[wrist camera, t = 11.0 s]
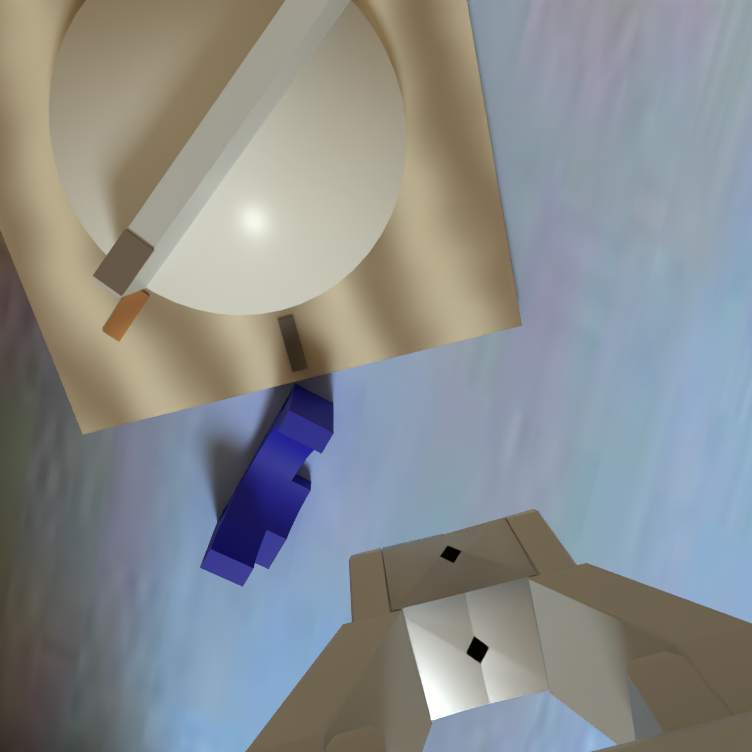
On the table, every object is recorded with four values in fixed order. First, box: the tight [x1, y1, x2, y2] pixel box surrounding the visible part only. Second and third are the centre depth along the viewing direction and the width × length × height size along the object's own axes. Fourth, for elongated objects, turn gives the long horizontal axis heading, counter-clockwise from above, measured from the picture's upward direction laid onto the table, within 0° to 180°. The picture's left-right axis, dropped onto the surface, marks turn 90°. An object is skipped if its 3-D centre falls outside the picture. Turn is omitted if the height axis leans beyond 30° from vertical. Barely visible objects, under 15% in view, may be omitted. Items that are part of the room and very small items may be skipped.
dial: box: [48, 0, 407, 315], centre depth 32 cm, size 20×20×6 cm
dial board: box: [0, 0, 522, 434], centre depth 35 cm, size 30×30×2 cm
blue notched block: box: [200, 384, 333, 586], centre depth 39 cm, size 12×4×6 cm, turn 150°
